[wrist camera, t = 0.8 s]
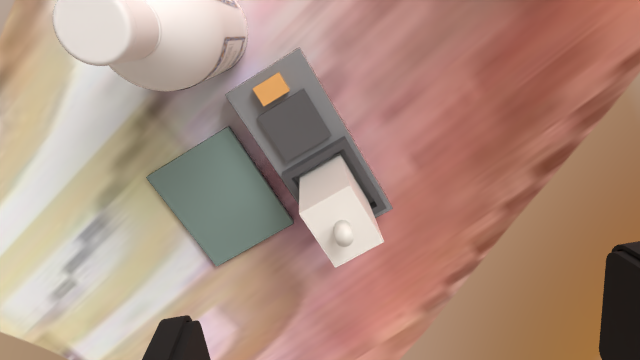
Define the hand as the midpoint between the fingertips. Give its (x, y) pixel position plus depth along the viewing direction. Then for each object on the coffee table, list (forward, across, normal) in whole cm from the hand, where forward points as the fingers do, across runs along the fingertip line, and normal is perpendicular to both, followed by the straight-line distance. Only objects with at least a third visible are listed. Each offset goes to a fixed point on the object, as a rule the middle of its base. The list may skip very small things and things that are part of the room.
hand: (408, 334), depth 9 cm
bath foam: (+30, +8, -9) cm, 32 cm away
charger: (+26, 0, +6) cm, 27 cm away
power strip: (+29, +1, +2) cm, 30 cm away
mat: (+30, +10, +6) cm, 32 cm away
